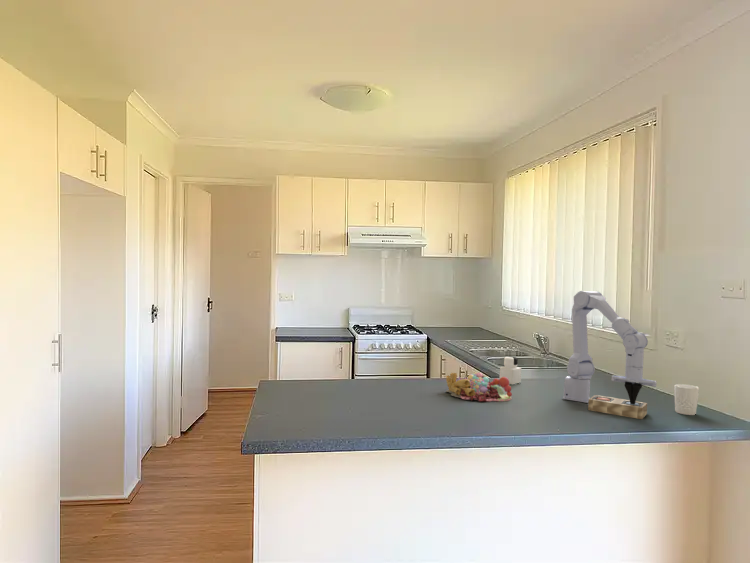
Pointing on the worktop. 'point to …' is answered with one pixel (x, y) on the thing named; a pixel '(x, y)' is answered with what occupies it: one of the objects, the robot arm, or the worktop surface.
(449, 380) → the assorted food platter
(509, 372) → the medicine bottle
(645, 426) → the worktop surface
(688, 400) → the white cup
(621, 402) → the peg block
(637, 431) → the worktop surface
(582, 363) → the robot arm
